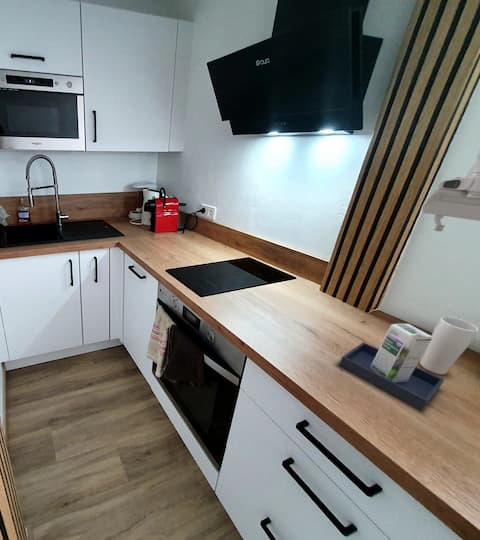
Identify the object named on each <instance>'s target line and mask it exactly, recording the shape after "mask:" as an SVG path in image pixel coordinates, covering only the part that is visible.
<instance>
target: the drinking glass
mask: <svg viewBox="0 0 480 540" xmlns="http://www.w3.org/2000/svg"><path fill="white" fill-rule="evenodd" d="M478 332H479V328H478V327H477V326H476V325H474V324H473V323H471V322H470V321H469V322H468V321H466V320H463V319H460V318H457V317H453V316H442V317H440V319H439V320H438V321H437V324H436V325H435V327H434V329H433V331H432V333H431V336H433V338H432V340H431V341H430V343H429V345H428V347H427V348H426V350H425V352H424V353H423V355H422V357H421V359H420V360H419V363H420V366H421V367H422V368H423V369H425V370H426V371H427V372H429V373H432V374H437V375H446V374H448V372H449V371H450V369H451V368H452V366H453V365H454V364H455V363H456V362H457V361H458V359H459V358H460V357H461V355H463V354H464V352H465V351H466V349H467V348H468V347H469V346H470V345H471V343H472V342H473V340H474V339H475V337H476V336H477V334H478Z"/></svg>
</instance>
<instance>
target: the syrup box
mask: <svg viewBox="0 0 480 540" xmlns="http://www.w3.org/2000/svg"><path fill="white" fill-rule="evenodd" d="M432 338H433V336H432V334H429V333H426V332H425V331H424V330H421V329H419V328H417V327H415V326H414V325H412V324H411V323H393V324H390V325H389V327H388V330H387V331H386V334H385V336H384V338H383V340H382V342H381V344H380V346H379V348H378V349H379V350H378V352H377V354H376V356H375V358H374V360H373V362H372V364H371V366H370V369H371V370H373V371H374V372H375V373H377V374H379V375H381V376H383V377H384V378H386V379H388V380H390V381H392V382H394V383H398V382H407V381H408V379H409V378H410V376H411V374H412V372H413V371H414V369H415V367H418V366H417V365H418V364H419V363H420V361H421V359H422V358H423V355H424V353H425V351H426V348H427V347H428V345H429V343H430V341H431V340H432Z"/></svg>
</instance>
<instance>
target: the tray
mask: <svg viewBox="0 0 480 540" xmlns="http://www.w3.org/2000/svg"><path fill="white" fill-rule="evenodd" d="M378 350H379V348H377V347H375V346H373V345H371V344H369V343H367V342H364V341H363V342H361V343H359V345H357V346H355V347H354V348H353V349H352V350H350V351H348V352H347V353H345V354H344V355H343V356H342V357H341V359H340V362H339V364H338V366H339V367H341V368H343V369H344V370H346V371H348V372H350V373H352V374H353V375H355V376H357V377H358V378H361V379H363V380H364V381H366V382H368V383H369V384H371V385H373V386H374V387H377V388H379V389H381V390H382V391H385V392H386V393H388V394H390V395H392V396H394V397H395V398H397V399H398V400H401V401H403V402H404V403H406V404H408V405H410V406H412V407H413V408H415V409H416V410H419V411H421V412H422V411H423V410H424V408H425V407H426V406H427V404H428V403H429V402H430V401H431V399H432V398H433V397H434V396H435V394H436V393H437V392H438V391H439V389H440V387H441V386H442V385H443V383H444V381H445V379H444V378H443V377H440V376H437V375H435V374H434V373H432V372H430V371H428V370H426V369H425V370H424V369H423V368H420V367H418V366H416V367H415V369H414V371H413V372H412V374H411V376H410V378H409V379H408V381H407V382H398V383H394V382H392V381H390V380H388V379H386V378H384V377H383V376H381V375H379V374H377V373H375V372H374V371H373V370H371V369H370V366H371V364H372V362H373V360H374V358H375V356H376V354H377V352H378Z"/></svg>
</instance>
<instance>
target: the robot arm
mask: <svg viewBox="0 0 480 540" xmlns="http://www.w3.org/2000/svg"><path fill="white" fill-rule="evenodd" d="M436 186H437V188H436V189H433V190H432V191H431V192H430V193H429V194H428V196H427V197H426V198H425V200H424V202H423V204H422V205H421V208H420V210H421V212H422V213H423V214H428V215H429V214H430V215H434V217H433V220H434V222H435V227H434V229H433V231H434V232H443V231H444V228H445V226H446V225H445V224H442V221H441V219H444V217H451V218H457V219H465V220H470V221H477V222H480V148H479V149H478V151H477V154H476V159H475V162H474V163H473V165H472V166H471V167H470V168H469V170H468V172H467V173H466V175H465V176H462V177H460V176H459V177H455V178H448V179H442V180H440V181H439V182H438V183H437V185H436Z"/></svg>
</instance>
